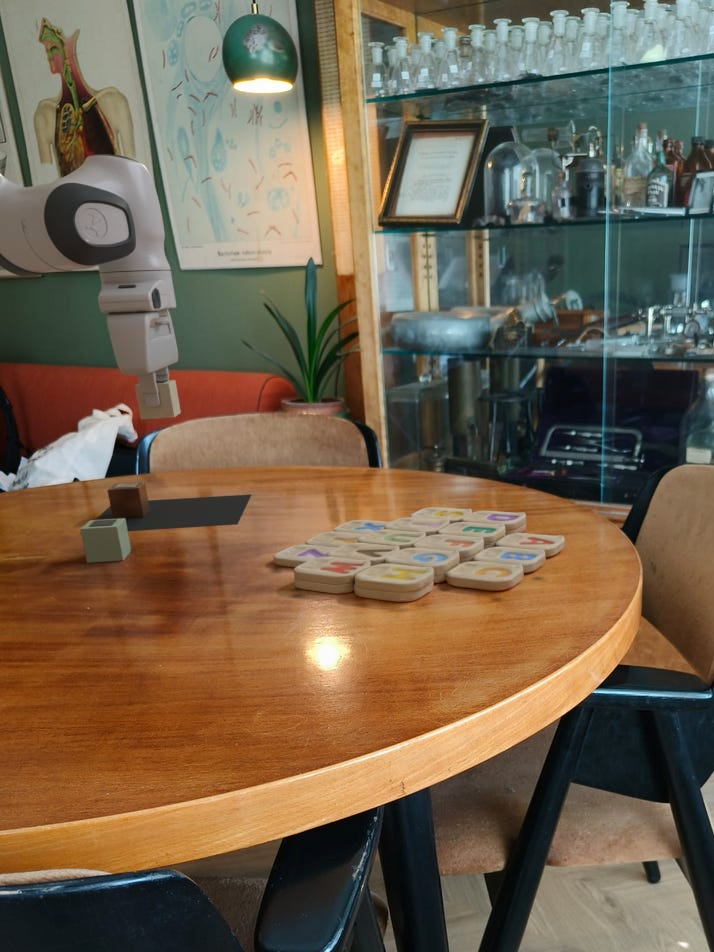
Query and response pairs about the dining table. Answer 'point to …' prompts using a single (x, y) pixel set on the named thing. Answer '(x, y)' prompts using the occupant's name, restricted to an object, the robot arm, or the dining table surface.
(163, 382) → the beige hollow cube
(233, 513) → the word mat
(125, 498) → the dark chocolate cube
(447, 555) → the alphabet tiles
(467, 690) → the dining table surface
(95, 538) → the olive open-top cube
